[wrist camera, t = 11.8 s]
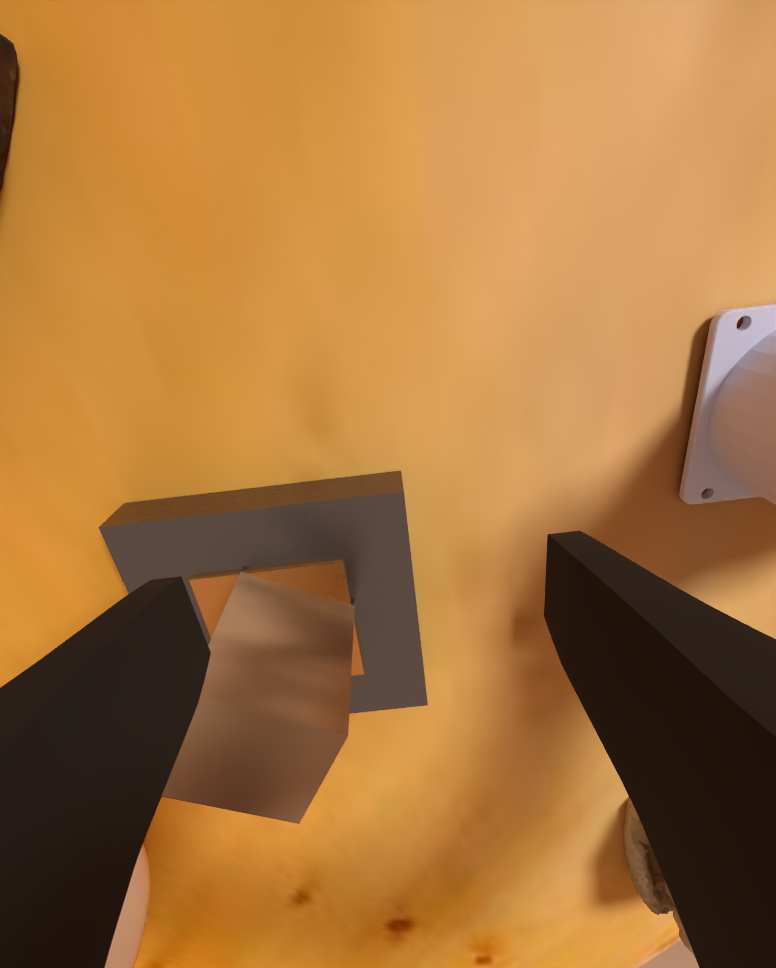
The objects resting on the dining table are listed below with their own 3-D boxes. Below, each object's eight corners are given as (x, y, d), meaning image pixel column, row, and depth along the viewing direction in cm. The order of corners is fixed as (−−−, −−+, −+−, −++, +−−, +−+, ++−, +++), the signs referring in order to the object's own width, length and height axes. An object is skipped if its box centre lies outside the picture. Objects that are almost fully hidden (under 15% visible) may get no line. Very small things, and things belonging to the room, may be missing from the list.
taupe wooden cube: (355, 605, 20) (348, 735, 14) (317, 683, 21) (299, 823, 16) (240, 571, 19) (186, 696, 13) (212, 656, 21) (155, 795, 15)
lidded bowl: (135, 891, 33) (32, 1159, 23) (-50, 837, 30) (-265, 1125, 20) (216, 805, 29) (133, 1087, 19) (12, 730, 25) (-220, 1028, 15)
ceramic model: (638, 751, 28) (763, 979, 19) (817, 741, 28) (1025, 963, 19) (602, 872, 34) (684, 1088, 25) (749, 863, 34) (884, 1075, 25)
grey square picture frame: (400, 470, 19) (404, 494, 17) (423, 672, 24) (428, 708, 22) (123, 503, 20) (95, 529, 18) (204, 696, 25) (189, 733, 23)
